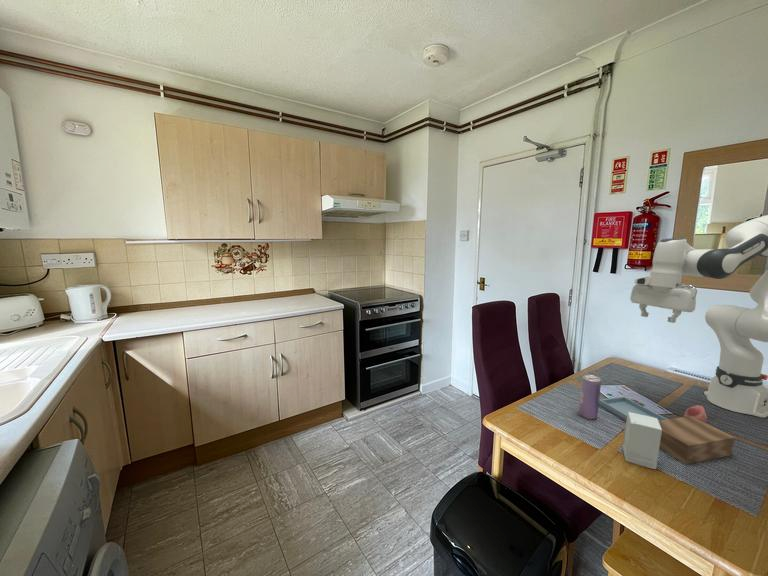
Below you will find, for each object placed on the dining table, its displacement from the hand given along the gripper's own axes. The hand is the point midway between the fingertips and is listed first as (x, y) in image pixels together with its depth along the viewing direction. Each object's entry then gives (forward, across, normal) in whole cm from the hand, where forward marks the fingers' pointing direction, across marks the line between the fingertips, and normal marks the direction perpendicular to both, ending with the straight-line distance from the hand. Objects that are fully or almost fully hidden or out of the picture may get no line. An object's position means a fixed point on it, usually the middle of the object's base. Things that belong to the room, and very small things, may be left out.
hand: (657, 319), depth 119 cm
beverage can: (+38, +3, +21) cm, 44 cm away
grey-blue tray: (+37, -2, +6) cm, 37 cm away
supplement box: (+40, -20, +26) cm, 52 cm away
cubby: (+37, -20, +6) cm, 43 cm away
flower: (+35, -10, -12) cm, 39 cm away
